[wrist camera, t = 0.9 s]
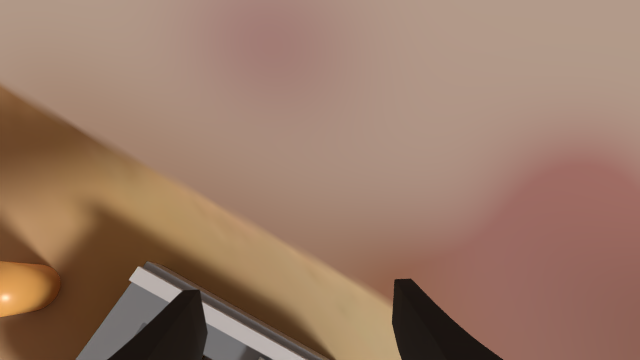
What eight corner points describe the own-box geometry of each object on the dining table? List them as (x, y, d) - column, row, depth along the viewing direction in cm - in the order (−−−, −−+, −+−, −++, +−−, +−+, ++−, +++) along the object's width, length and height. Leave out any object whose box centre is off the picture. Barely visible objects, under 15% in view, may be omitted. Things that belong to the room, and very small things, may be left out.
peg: (11, 319, 22) (-44, 330, 17) (1, 274, 22) (-55, 273, 18) (65, 300, 23) (27, 306, 18) (55, 257, 23) (16, 252, 19)
